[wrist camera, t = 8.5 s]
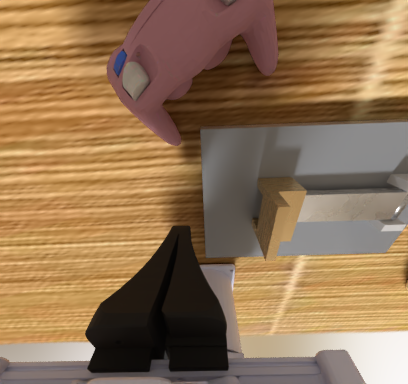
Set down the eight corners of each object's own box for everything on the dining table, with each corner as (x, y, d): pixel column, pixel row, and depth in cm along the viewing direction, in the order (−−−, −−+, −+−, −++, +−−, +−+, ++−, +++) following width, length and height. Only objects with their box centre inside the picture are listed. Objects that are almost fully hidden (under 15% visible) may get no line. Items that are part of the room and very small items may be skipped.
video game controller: (247, 20, 12) (247, -173, 5) (280, 72, 12) (325, -57, 5) (149, 109, 15) (68, 58, 8) (176, 152, 15) (115, 136, 8)
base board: (374, 243, 21) (401, 265, 18) (205, 248, 21) (206, 271, 19) (461, 117, 14) (529, 121, 11) (200, 126, 14) (200, 133, 11)
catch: (279, 223, 17) (302, 259, 13) (251, 224, 17) (265, 260, 13) (291, 177, 15) (324, 205, 11) (257, 178, 15) (278, 207, 11)
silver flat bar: (389, 213, 16) (399, 220, 15) (263, 217, 16) (266, 223, 16) (406, 187, 15) (419, 192, 14) (268, 191, 15) (272, 196, 14)
